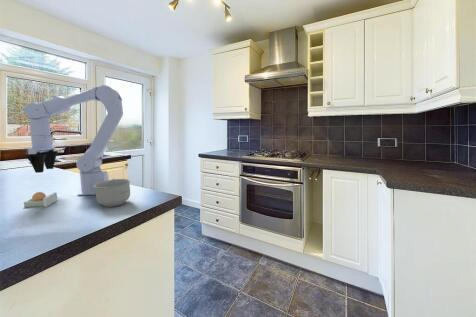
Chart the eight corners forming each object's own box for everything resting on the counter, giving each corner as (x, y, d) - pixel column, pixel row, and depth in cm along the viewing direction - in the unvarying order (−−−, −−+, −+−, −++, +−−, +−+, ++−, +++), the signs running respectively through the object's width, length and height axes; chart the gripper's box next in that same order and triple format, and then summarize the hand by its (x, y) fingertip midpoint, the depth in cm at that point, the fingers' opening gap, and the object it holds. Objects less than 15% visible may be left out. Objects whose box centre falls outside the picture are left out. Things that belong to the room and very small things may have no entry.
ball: (48, 200, 79) (47, 190, 78) (42, 203, 75) (41, 193, 75) (36, 201, 78) (35, 191, 78) (30, 204, 74) (28, 193, 74)
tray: (53, 200, 80) (53, 195, 80) (45, 205, 75) (44, 200, 75) (34, 201, 79) (34, 197, 78) (24, 207, 73) (23, 202, 73)
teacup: (127, 207, 74) (126, 184, 72) (90, 210, 70) (88, 186, 69) (134, 195, 87) (133, 176, 86) (103, 197, 84) (102, 177, 83)
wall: (57, 200, 80) (56, 192, 80) (46, 206, 74) (45, 198, 73) (54, 200, 80) (53, 192, 80) (43, 206, 73) (42, 198, 73)
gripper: (39, 135, 89) (42, 167, 91) (15, 136, 75) (20, 174, 77) (59, 135, 91) (62, 167, 93) (40, 136, 77) (44, 173, 79)
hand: (44, 170), depth 85 cm, fingers open, 7 cm apart
